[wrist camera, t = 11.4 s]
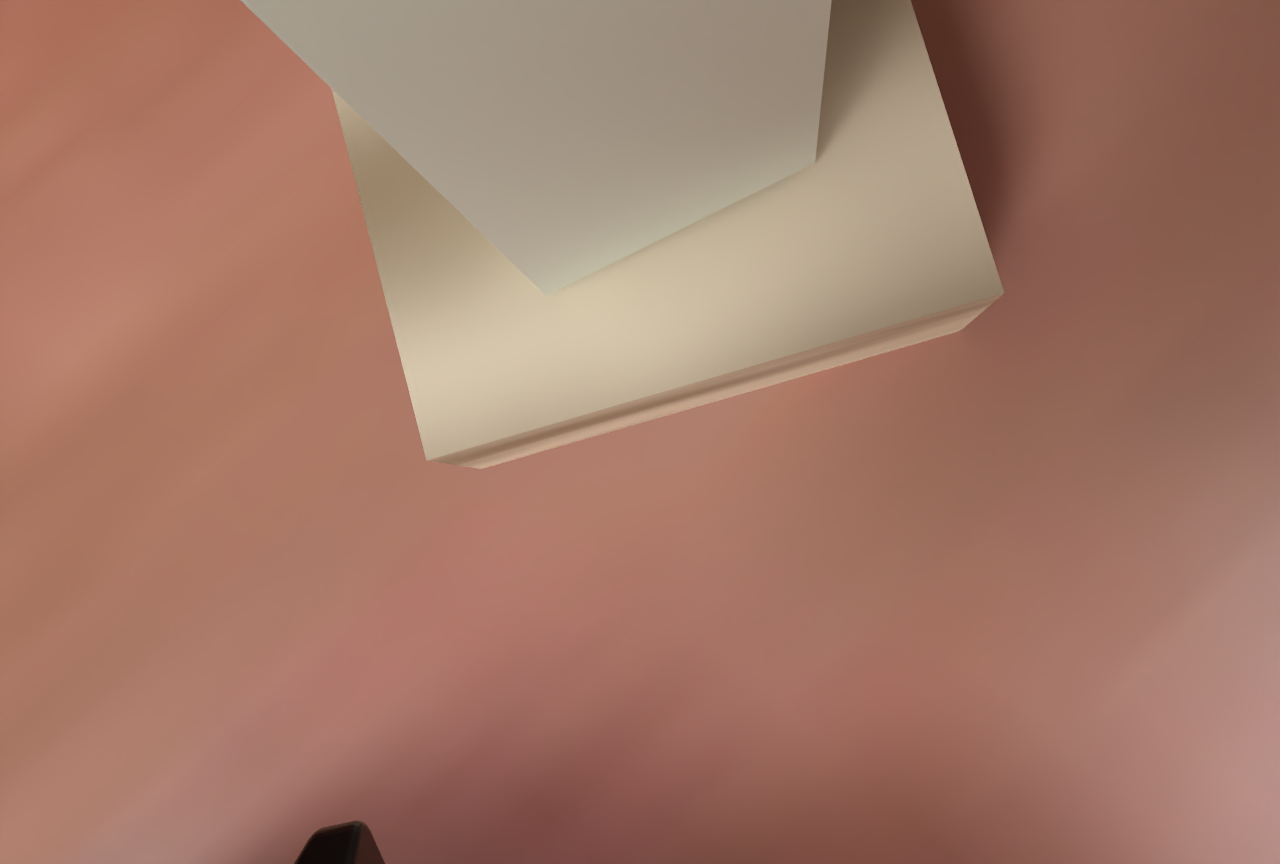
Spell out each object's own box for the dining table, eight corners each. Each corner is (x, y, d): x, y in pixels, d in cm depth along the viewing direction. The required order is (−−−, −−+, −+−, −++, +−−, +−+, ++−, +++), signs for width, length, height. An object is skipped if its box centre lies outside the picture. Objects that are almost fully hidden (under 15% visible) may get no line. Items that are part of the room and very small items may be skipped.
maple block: (956, 334, 21) (1004, 292, 17) (486, 469, 22) (426, 460, 18) (815, -116, 22) (829, -254, 18) (371, 30, 23) (290, -72, 19)
